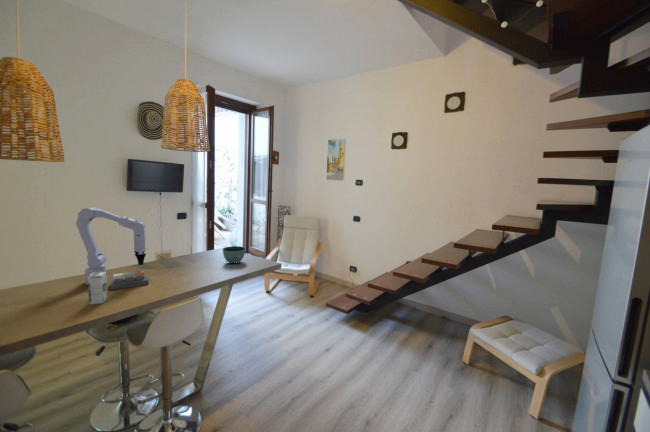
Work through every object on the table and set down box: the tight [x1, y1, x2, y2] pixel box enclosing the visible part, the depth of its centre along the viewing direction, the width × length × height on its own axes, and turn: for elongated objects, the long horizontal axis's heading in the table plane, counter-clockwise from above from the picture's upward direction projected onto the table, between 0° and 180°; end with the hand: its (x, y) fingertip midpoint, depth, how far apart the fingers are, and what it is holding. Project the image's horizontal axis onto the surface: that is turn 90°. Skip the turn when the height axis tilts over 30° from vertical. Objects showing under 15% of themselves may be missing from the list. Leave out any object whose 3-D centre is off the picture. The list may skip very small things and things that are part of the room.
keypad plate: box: [109, 274, 149, 291], centre depth 164 cm, size 18×10×2 cm, turn 125°
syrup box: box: [87, 271, 108, 305], centre depth 140 cm, size 6×6×14 cm
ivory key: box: [112, 272, 124, 283], centre depth 161 cm, size 4×4×5 cm
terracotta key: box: [134, 270, 145, 280], centre depth 166 cm, size 4×4×5 cm
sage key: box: [123, 271, 135, 282], centre depth 164 cm, size 4×4×5 cm
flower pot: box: [222, 245, 246, 263], centre depth 211 cm, size 16×16×11 cm
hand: (140, 263), depth 174 cm, fingers open, 7 cm apart
